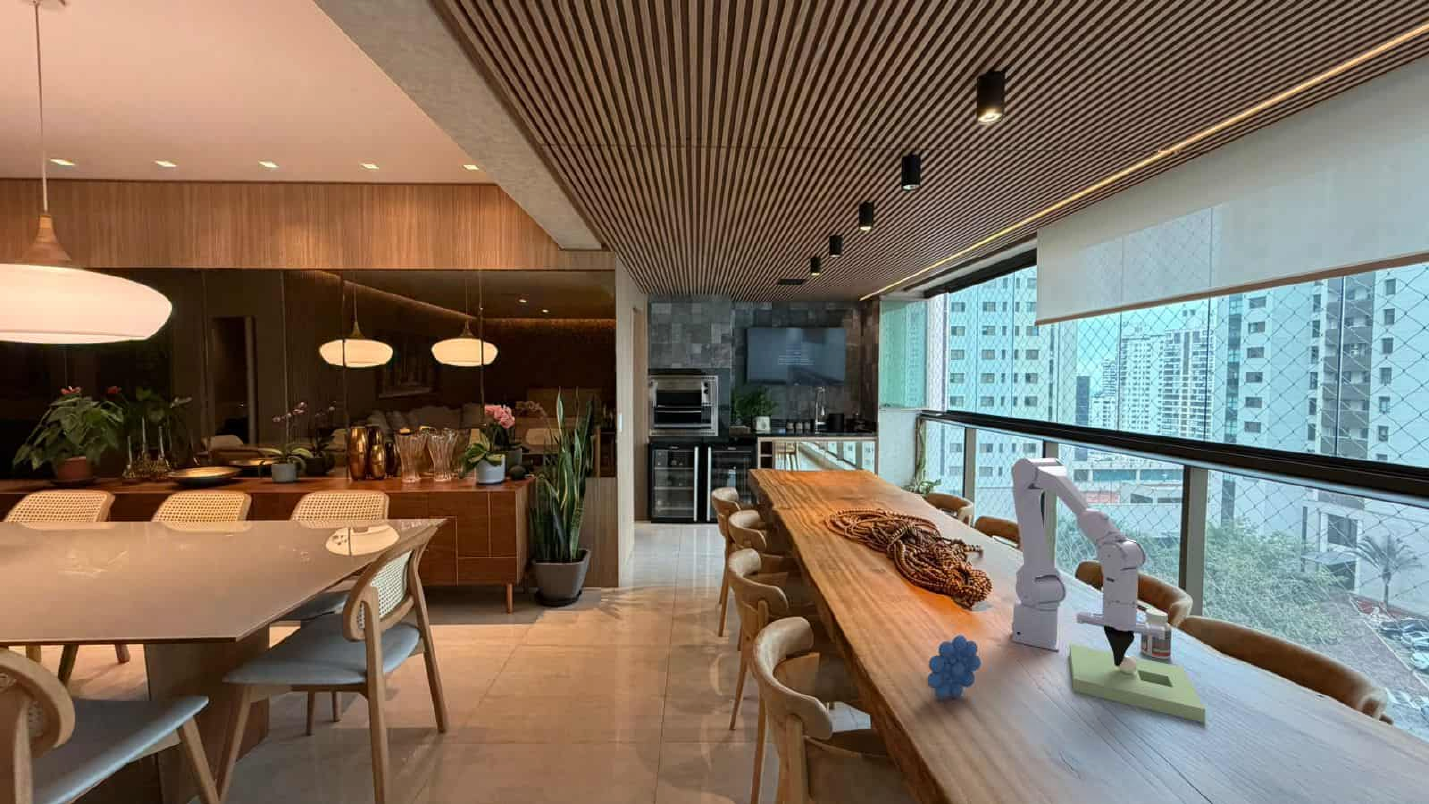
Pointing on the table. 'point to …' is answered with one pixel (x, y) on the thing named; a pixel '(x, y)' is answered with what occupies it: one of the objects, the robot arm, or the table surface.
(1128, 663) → the ball
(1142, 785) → the table surface
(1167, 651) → the pill bottle
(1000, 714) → the table surface
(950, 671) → the grapes
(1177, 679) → the putting mat
